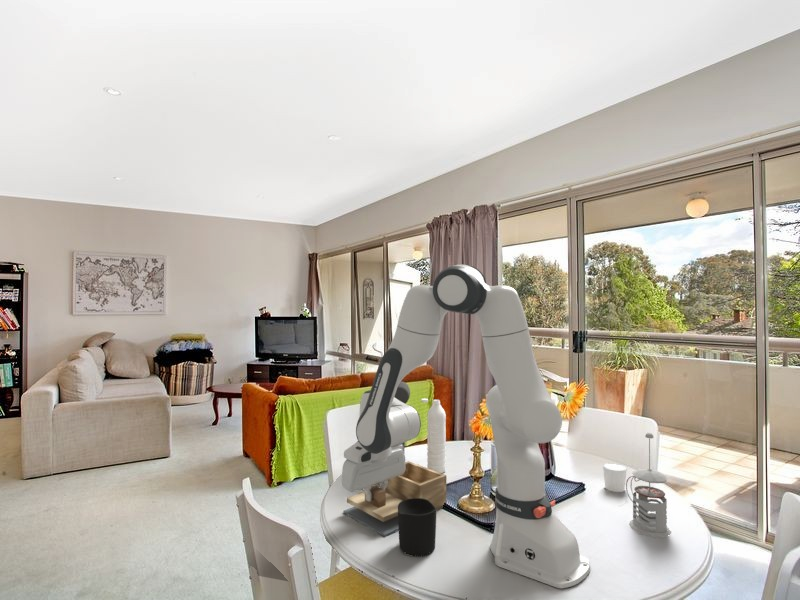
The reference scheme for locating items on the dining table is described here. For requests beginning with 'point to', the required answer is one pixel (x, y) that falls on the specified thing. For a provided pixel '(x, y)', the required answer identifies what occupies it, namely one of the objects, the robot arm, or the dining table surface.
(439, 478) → the wooden open box
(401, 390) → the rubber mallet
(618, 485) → the white cup
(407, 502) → the pen holder
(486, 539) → the dining table surface
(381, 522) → the mat
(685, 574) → the dining table surface
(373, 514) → the lid
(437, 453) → the water bottle
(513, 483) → the robot arm
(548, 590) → the dining table surface
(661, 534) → the french press
